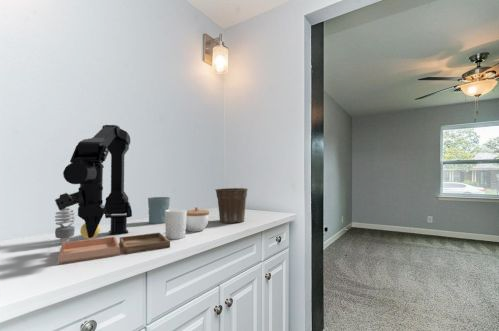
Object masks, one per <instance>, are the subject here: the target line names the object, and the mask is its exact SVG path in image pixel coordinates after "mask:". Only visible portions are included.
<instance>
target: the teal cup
mask: <svg viewBox="0 0 499 331" xmlns="http://www.w3.org/2000/svg"><path fill="white" fill-rule="evenodd" d="M170 202H171V198H170V197H169V196H167V197H166V196H154V197H152V196H151V197H148V198H147V204H148V224H150V225H162V224H163V225H164V224H165V210H169V207H170Z"/></svg>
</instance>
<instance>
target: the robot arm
mask: <svg viewBox="0 0 499 331" xmlns="http://www.w3.org/2000/svg"><path fill="white" fill-rule="evenodd" d="M130 145H131V136H130V134H129V133H128V131H126V130H124V129H122V128H120V126H119V125H117V124H104V125H102V126H101V129H100V130H99V131H98V132H97V133H96V134H95V135H93V137H91V138H86V139H84V138H83V139H82V140H81V141H79V142H78V143H77V145H76V146H75V148H74V150H73V153H72V155H71V158H70V160H69V162H70V163H68V164H67V166H66V167H64V170H63V173H62V176H63V178H64V180H65V181H66V182H67V183H68V184H71V185H79V187H78V191H77V192H75V191H74V192H73V193H68V192H65V193H62V194H60V195H59V197H57V198H56V199H54V202H55V205H56V206H57V208H58V211H60V210H62V209H65V208H70V207H71V206H74V205H77V206H78V208H77V217H79V218H80V219H81V220H83V221H84V224H86V229H87V234H88V238H91V239H93V238H92V237H93V236H94V234H95V231H96V229H97V227H98V225H99V226H100V223H101V220H102V219H103V217H105V219H110V230H108V233H109V236H113V235H120V234H128V233H129V230H128V228H127V227H128V226H127V224H128V223H127V221H128V220H127V219H128V218H131V217H132V216H133V212H132V211H133V210H132V206H131V204H130V201H129V197H128V195H127V193H126V192H125V155H126V154H127V152H128V151H129V149H130ZM109 154H110V157H111V158H110V193H109V194H108V196H107V197H105V203H104V202H103V201H104V200H103V190H104V186H103V182H104V181H103V177H104V176H103V173H104V167H105V166H104V162H106V159H107V156H108V155H109ZM103 203H104V204H103Z"/></svg>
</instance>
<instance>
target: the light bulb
mask: <svg viewBox="0 0 499 331" xmlns="http://www.w3.org/2000/svg"><path fill="white" fill-rule="evenodd" d="M75 220H76V210H73V209H72V208H71V207H66V208H65V209H62V210H59V211H56V212H55V216H54V221H55V226H57V225H58V226H59V227H56V228H55V231H54V232H55V233H54V234H55V238H56V239H59V240H60V241H59V242H60V243H61V244H62V243H64V242H70V238H71V237H73V236H75V226H73V224H75ZM64 224H68V225H64Z"/></svg>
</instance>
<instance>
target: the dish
mask: <svg viewBox="0 0 499 331" xmlns="http://www.w3.org/2000/svg"><path fill="white" fill-rule="evenodd" d="M59 249H60V250H59V252H58V257H57V260H58V264H57V265H59V266H60V265H66V264H71V263H77V262H84V261H91V260H98V259H103V258H105V259H106V258H110V257H118V256H120V255H121V254H120V253H121V251H120V249H121V245H120V243H119V242H118V239H117V237H116V236H115V235H114V236H108V237H107V236H106V237H101V238H91V239H83V240H74V241H68V242H64V243H61V246H60V248H59Z"/></svg>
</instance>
